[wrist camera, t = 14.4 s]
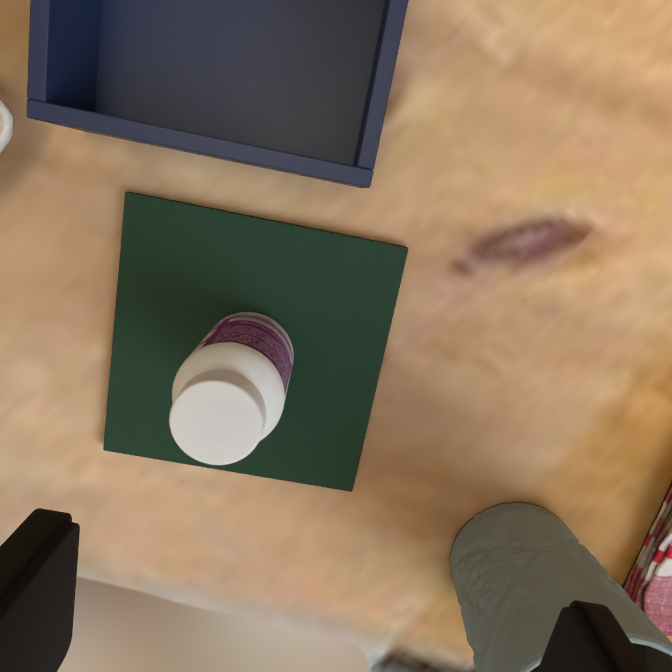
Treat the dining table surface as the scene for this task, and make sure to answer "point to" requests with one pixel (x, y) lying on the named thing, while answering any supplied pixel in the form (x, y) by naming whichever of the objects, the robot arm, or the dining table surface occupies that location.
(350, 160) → the basket
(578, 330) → the dining table surface
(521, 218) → the dining table surface
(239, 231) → the mat
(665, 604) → the dish towel
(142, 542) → the dining table surface
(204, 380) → the pill bottle
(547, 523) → the gray cup
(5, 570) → the robot arm
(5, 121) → the square plate
